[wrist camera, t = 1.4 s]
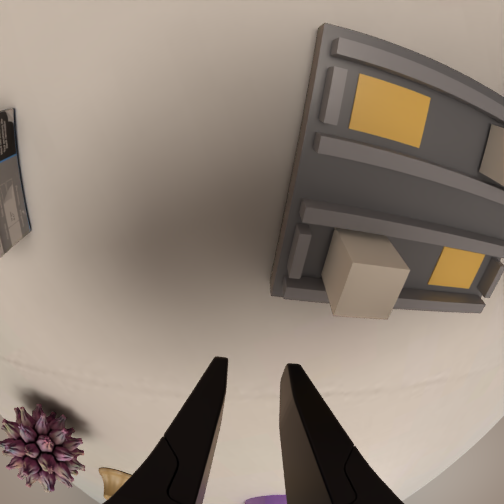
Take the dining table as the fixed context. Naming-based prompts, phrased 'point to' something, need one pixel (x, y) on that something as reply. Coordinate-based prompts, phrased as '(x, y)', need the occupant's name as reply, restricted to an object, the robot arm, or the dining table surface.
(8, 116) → the label tape box
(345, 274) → the tab
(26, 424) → the flower
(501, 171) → the beige rectangular block
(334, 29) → the switch bank
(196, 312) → the dining table surface
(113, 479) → the hand bell
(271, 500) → the masking tape
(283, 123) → the dining table surface
